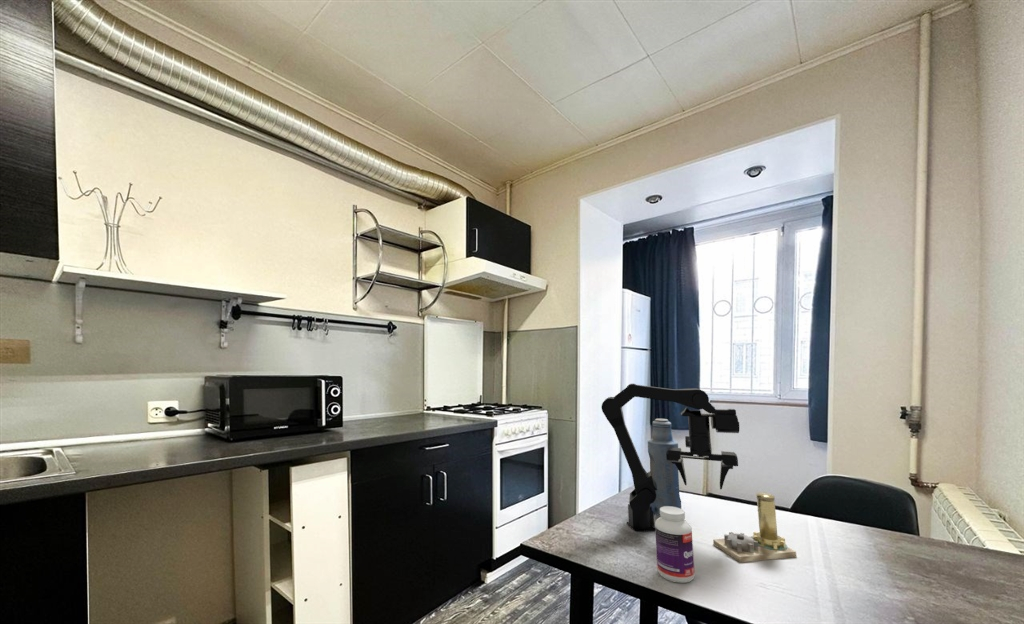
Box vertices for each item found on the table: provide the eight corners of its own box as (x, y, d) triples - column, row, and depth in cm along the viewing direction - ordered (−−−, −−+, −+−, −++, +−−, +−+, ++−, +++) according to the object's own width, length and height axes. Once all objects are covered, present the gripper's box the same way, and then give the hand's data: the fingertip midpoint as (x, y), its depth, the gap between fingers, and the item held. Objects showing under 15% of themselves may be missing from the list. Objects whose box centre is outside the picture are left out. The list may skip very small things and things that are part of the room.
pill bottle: (692, 589, 87) (687, 519, 89) (654, 578, 91) (650, 512, 93) (697, 572, 94) (693, 507, 96) (661, 563, 98) (658, 502, 100)
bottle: (647, 506, 137) (642, 417, 141) (677, 507, 136) (671, 417, 140) (654, 517, 128) (649, 421, 132) (686, 518, 127) (680, 421, 131)
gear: (778, 552, 101) (773, 502, 102) (747, 541, 107) (744, 494, 108) (791, 544, 105) (786, 496, 106) (761, 534, 111) (757, 489, 112)
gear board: (739, 562, 99) (738, 545, 99) (713, 544, 108) (712, 529, 109) (799, 556, 101) (797, 540, 102) (768, 539, 111) (767, 524, 112)
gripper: (733, 429, 121) (737, 483, 119) (668, 426, 129) (671, 476, 127) (735, 435, 111) (740, 494, 109) (664, 431, 120) (667, 486, 118)
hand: (703, 487), depth 116 cm, fingers open, 9 cm apart
